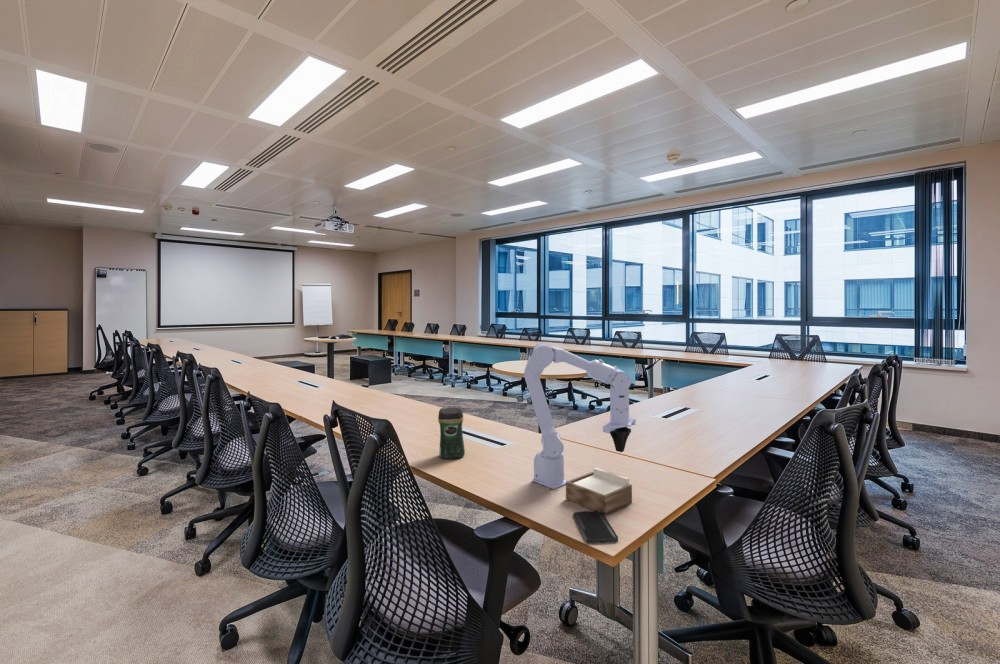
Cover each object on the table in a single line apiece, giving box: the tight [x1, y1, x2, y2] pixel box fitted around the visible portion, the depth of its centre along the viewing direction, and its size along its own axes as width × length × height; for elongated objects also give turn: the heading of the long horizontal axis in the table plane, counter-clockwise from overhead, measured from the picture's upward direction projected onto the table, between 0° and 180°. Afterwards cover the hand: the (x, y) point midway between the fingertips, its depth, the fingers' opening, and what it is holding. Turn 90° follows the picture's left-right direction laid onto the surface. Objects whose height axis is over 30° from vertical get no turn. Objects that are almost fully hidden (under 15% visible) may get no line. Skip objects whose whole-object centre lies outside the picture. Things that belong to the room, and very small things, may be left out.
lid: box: [574, 467, 630, 495], centre depth 127 cm, size 12×11×3 cm
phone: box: [572, 510, 619, 545], centre depth 111 cm, size 8×1×15 cm
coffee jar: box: [437, 407, 466, 460], centre depth 169 cm, size 10×8×19 cm
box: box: [565, 471, 633, 516], centre depth 127 cm, size 14×12×5 cm
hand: (619, 451), depth 140 cm, fingers closed
